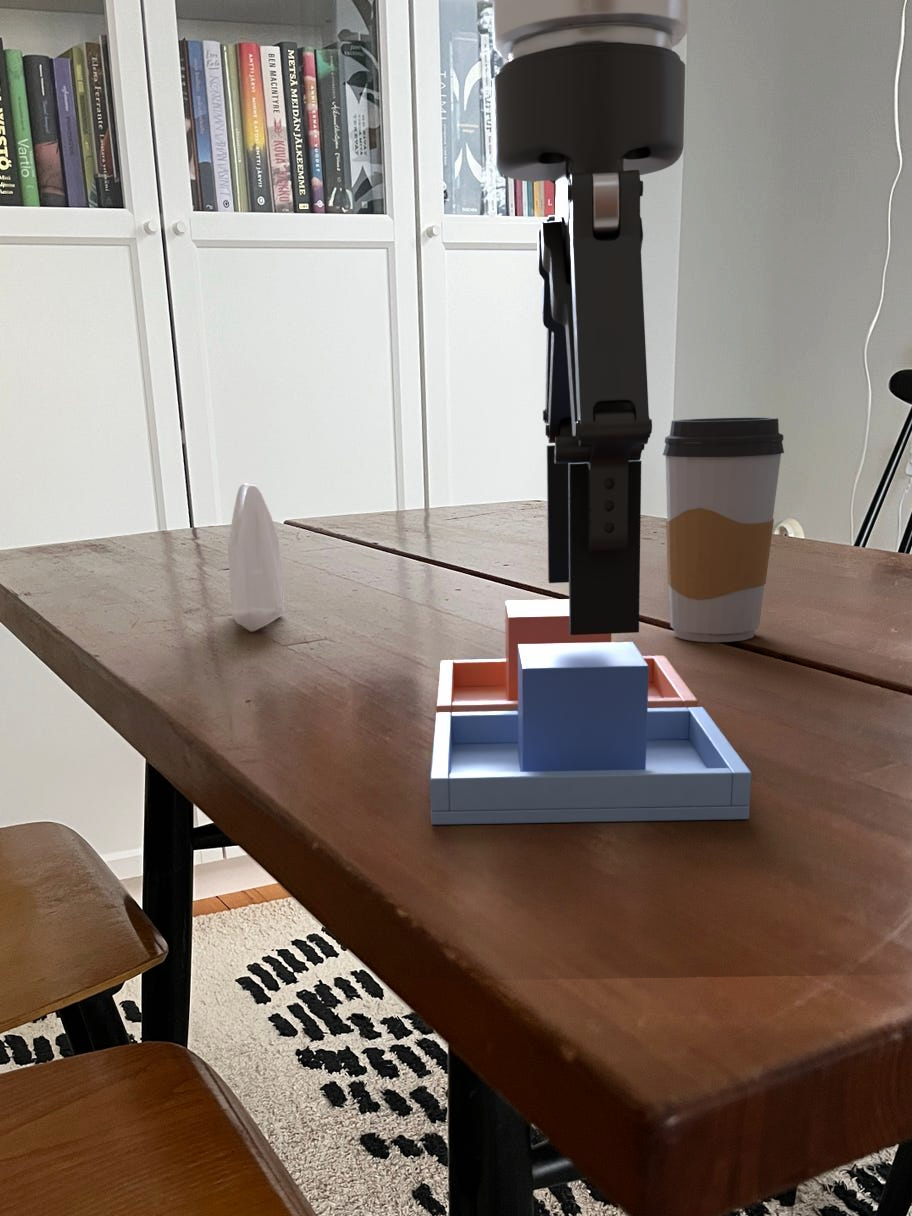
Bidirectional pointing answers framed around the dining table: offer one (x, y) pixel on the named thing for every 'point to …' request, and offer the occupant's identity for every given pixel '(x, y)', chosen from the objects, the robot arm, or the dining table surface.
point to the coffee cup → (719, 523)
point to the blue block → (582, 707)
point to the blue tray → (585, 775)
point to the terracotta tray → (486, 691)
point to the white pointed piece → (254, 562)
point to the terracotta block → (537, 632)
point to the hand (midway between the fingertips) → (588, 604)
